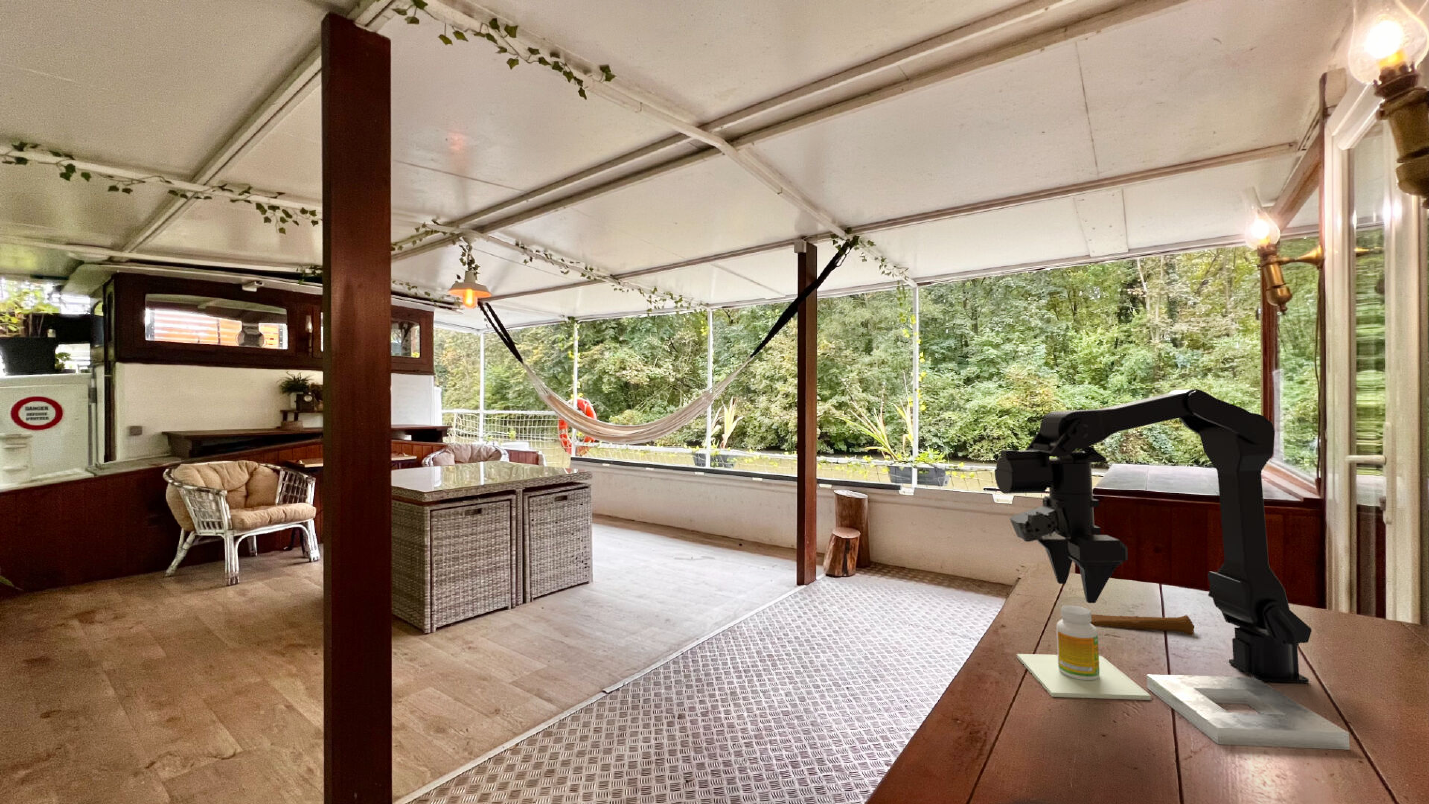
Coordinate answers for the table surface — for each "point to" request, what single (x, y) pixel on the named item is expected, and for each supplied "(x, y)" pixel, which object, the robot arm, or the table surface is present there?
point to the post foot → (1272, 727)
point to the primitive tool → (1146, 623)
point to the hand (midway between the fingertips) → (1075, 592)
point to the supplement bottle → (1077, 644)
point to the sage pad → (1061, 685)
